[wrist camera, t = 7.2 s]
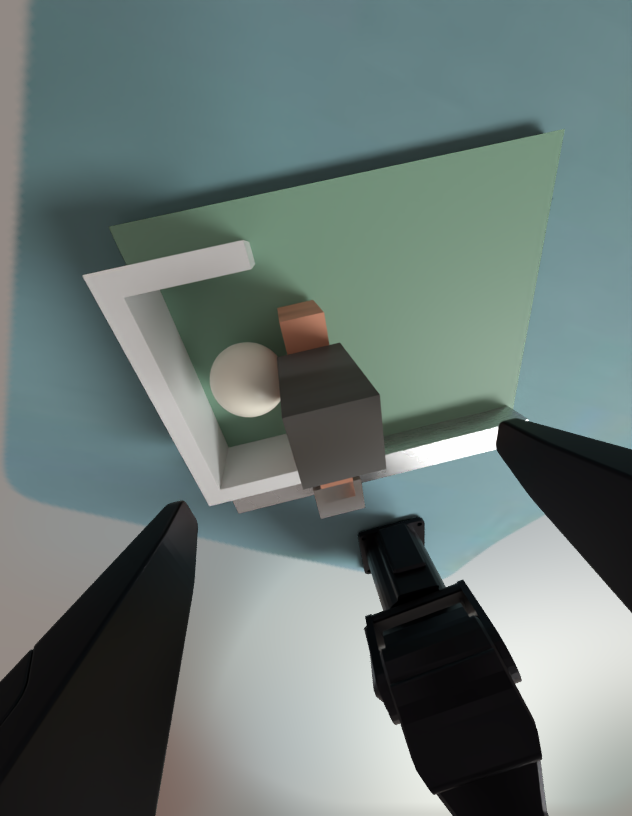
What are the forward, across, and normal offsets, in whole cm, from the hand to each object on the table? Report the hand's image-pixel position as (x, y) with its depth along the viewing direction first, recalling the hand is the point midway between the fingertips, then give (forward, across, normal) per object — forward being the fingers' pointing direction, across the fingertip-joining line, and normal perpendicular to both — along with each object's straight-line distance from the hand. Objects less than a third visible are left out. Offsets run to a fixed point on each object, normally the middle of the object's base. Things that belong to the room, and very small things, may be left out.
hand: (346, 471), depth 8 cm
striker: (+10, 0, +4) cm, 11 cm away
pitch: (+12, -4, +1) cm, 12 cm away
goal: (+11, +4, 0) cm, 12 cm away
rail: (+12, -4, +9) cm, 15 cm away
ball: (+9, +3, 0) cm, 9 cm away
